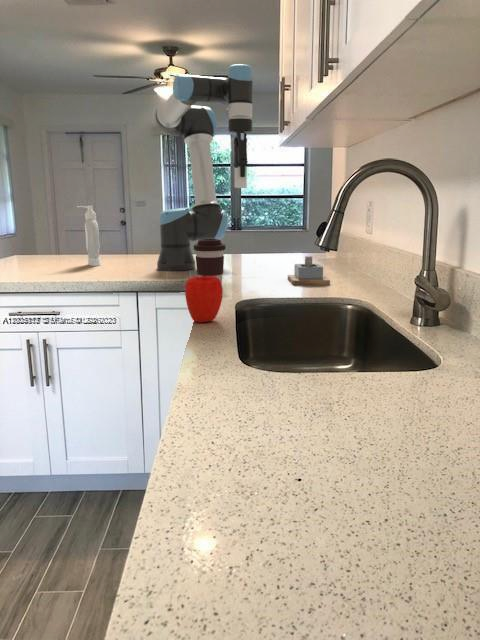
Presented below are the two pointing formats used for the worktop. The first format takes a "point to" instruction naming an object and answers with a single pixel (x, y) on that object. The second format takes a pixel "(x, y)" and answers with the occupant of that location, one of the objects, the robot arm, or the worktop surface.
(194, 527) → the worktop surface
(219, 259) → the coffee cup
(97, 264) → the soap bottle
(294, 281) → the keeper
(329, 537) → the worktop surface
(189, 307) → the apple
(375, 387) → the worktop surface
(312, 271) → the gray square block
